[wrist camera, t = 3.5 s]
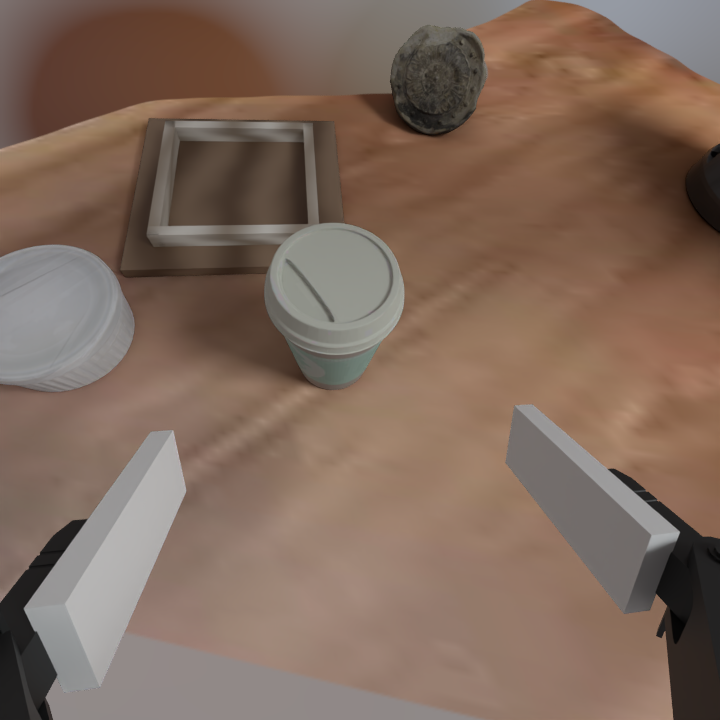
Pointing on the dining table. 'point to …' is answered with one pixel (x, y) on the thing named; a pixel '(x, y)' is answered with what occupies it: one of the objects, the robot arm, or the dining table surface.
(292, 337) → the coffee cup
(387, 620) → the dining table surface
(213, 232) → the locating board
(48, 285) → the ramekin
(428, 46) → the fossil
